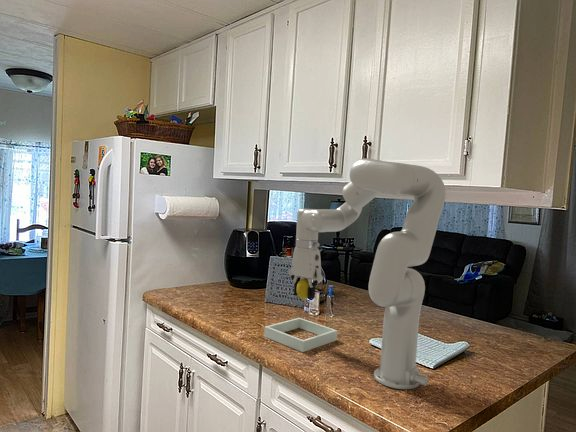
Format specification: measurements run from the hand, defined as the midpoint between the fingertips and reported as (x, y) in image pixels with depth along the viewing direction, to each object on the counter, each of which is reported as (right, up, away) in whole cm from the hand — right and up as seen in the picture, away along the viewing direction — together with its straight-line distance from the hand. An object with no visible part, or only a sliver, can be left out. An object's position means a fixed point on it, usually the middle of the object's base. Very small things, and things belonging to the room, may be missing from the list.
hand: (304, 296), depth 148 cm
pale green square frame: (-1, -15, +1) cm, 15 cm away
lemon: (0, -2, 0) cm, 2 cm away
